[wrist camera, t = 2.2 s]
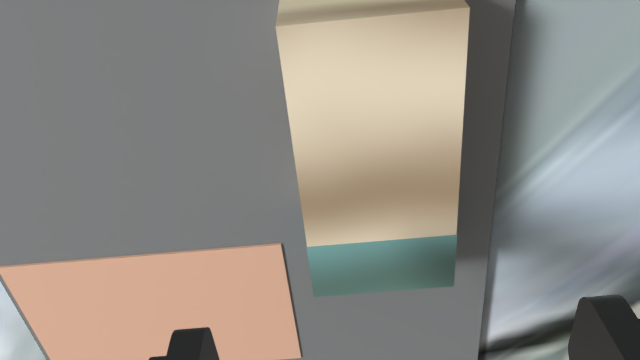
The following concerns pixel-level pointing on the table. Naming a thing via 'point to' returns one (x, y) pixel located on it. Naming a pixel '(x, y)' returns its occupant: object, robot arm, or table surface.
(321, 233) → the tile
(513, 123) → the table surface
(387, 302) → the mat
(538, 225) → the table surface
